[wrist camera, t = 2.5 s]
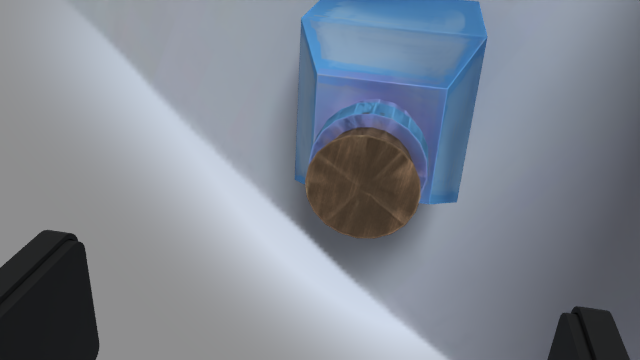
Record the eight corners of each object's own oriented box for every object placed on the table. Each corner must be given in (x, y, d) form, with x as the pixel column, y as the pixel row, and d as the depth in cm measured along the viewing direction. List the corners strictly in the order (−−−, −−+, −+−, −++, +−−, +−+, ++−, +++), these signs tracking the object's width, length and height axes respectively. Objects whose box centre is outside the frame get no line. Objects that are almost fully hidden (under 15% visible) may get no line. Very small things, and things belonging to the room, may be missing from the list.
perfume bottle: (455, 138, 28) (459, 298, 17) (323, 122, 29) (251, 265, 18) (478, 1, 25) (500, 93, 14) (332, -12, 26) (252, 65, 15)
